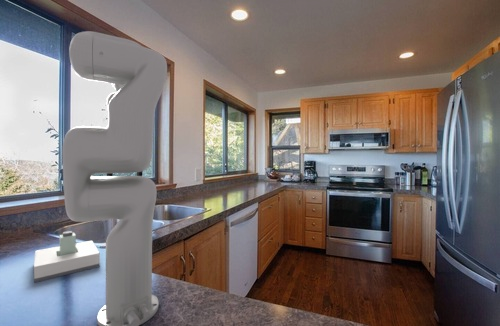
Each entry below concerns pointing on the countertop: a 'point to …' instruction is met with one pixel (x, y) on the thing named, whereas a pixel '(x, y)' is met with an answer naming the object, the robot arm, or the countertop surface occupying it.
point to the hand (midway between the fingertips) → (125, 178)
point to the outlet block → (65, 261)
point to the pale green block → (67, 243)
